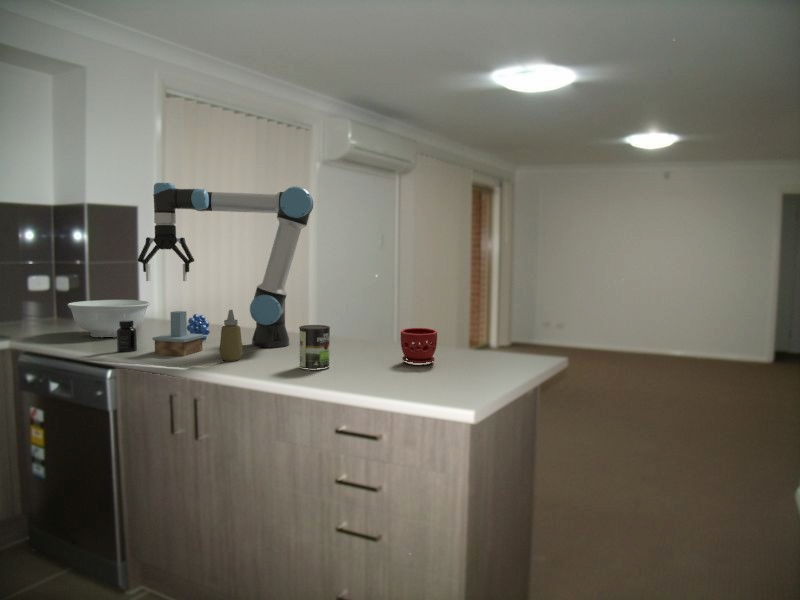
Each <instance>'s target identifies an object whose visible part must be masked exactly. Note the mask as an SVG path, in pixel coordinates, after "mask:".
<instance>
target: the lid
mask: <svg viewBox="0 0 800 600" xmlns="http://www.w3.org/2000/svg"><path fill="white" fill-rule="evenodd" d="M187 314H188V313H187V310H186V311H185V310H184V311H183V310H174V311H170V333H166V334H162V335H158V336H153V337H152V341H155V340H157V341H173V342H187V341H191V340H195V339H199V338H202V337H204V334H190V332H189V333H187V332H188V330H187V326H188V323H187Z"/></svg>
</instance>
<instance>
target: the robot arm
mask: <svg viewBox="0 0 800 600" xmlns="http://www.w3.org/2000/svg"><path fill="white" fill-rule="evenodd" d="M313 209H314V200H313V197H312V195H311V194H310V192H309V191H308V190H307V189H305V188H304V187H303V186H302V187H301V186H297V185H296V186H291V187H288V188H287V189H285V190H284V191H278V193H277V194H276V193H275V194H274V193H254V192H253V193H251V192H223V191H222V192H219V191H207V190H206V189H205V188H204V189H202V188H176V185H175V184H174V183H171V182H155V183H154V185H153V212H154V213H153V214H154V215H153V217H154V219H153V220H154V221H153V223H154V224H155V225H154V237H153V238H152V237H150V236H149V237H145V244H144V246H143V247H142V249H141V252H140V253H139V256H138V259H137V262H138V263H141V264H142V268H143V269H142V271H143V273H145V282H149V281H151V263H149V262H150V261H151V260H152V258H153V257H154V256H155V255H156V254H157V252H158V251H159V250H172V251H174V252H175V253H176V255H177V256H178V257H179V258H180V260H182V262H184V263H183V264H182V282H188V273H190V264H191V263H194V262H195V259H194V257H193V255H192V252H191V251H190V249H189V247H188V244H186V239H185V237H180V238H179V237H178V238H177V227H176V225H175V224H176V220H177V219H176V210H194V211H196V212H197V211H198V212H230V213H233V212H234V213H235V212H237V213H255V214H256V213H257V214H258V213H261V214H277V215H276V218H277V221H278V227H277V230H276V234H275V236H274V241H273V244H272V245H273V246H272V247H271V252H270V255H269V259H268V262H267V264H266V265H267V266H266V269H265V273H264V276H263V279H262V283H259V284H258V285H256V290H255V293H254V296H253V299H252V300H251V302H250V305H249V313H250V317H251V319H253V321H255V324H256V325H255V329H254V332H253V336H252V338H251V346H253V347H260V348H272V349H273V348H282V347H288V346H290V337H289V334H288V330H287V328H286V299H287V291H286V290H285V287H286V284H287V280H288V278H289V274H290V270H291V265H292V263H293V260H294V255H295V252H296V249H297V245H298V242H299V238H300V235H301V231H302V229H304V228H306V227H307V226H308V221H309V218H310V214H311V213H312V211H313ZM177 242H178V243H179V244H180V245H181V247H182V250H183V251H184V253H185V255H186V256H185V255H184V253H183V252H182V251H181V250H180V248H178V245H176V244H177ZM153 243H155V245H154V247H153V248H152V250H151V251H150V252H149V253H148V250H149V249H150V247H151V245H152V244H153ZM147 253H148V254H147ZM146 255H147V256H146ZM287 345H288V346H287Z"/></svg>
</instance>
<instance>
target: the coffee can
mask: <svg viewBox="0 0 800 600" xmlns="http://www.w3.org/2000/svg"><path fill="white" fill-rule="evenodd" d="M298 329H299V367H301V368H308V369H317V368H325V367H328V366H329V367H330V338H331V335H330V331H331V330H330V329H331V326H329V325H324V324H306V325H304V324H303V325H300V326H299V328H298Z"/></svg>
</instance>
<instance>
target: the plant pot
mask: <svg viewBox="0 0 800 600" xmlns="http://www.w3.org/2000/svg"><path fill="white" fill-rule="evenodd" d="M437 343H438V330H435V329H433V328H428V327H427V328H426V327H412V328H411V327H409V328H403V329H401V330H400V347H401V351H402V354H403V355H404V356H402V357H401V358H402V361H403V360H404V361H407V362H413V363H426V362H432V361H434V362H435V357H434V354H435V352H436V349H437V346H438V344H437ZM406 358H407V359H408V360H406ZM404 361H403V362H404Z"/></svg>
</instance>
